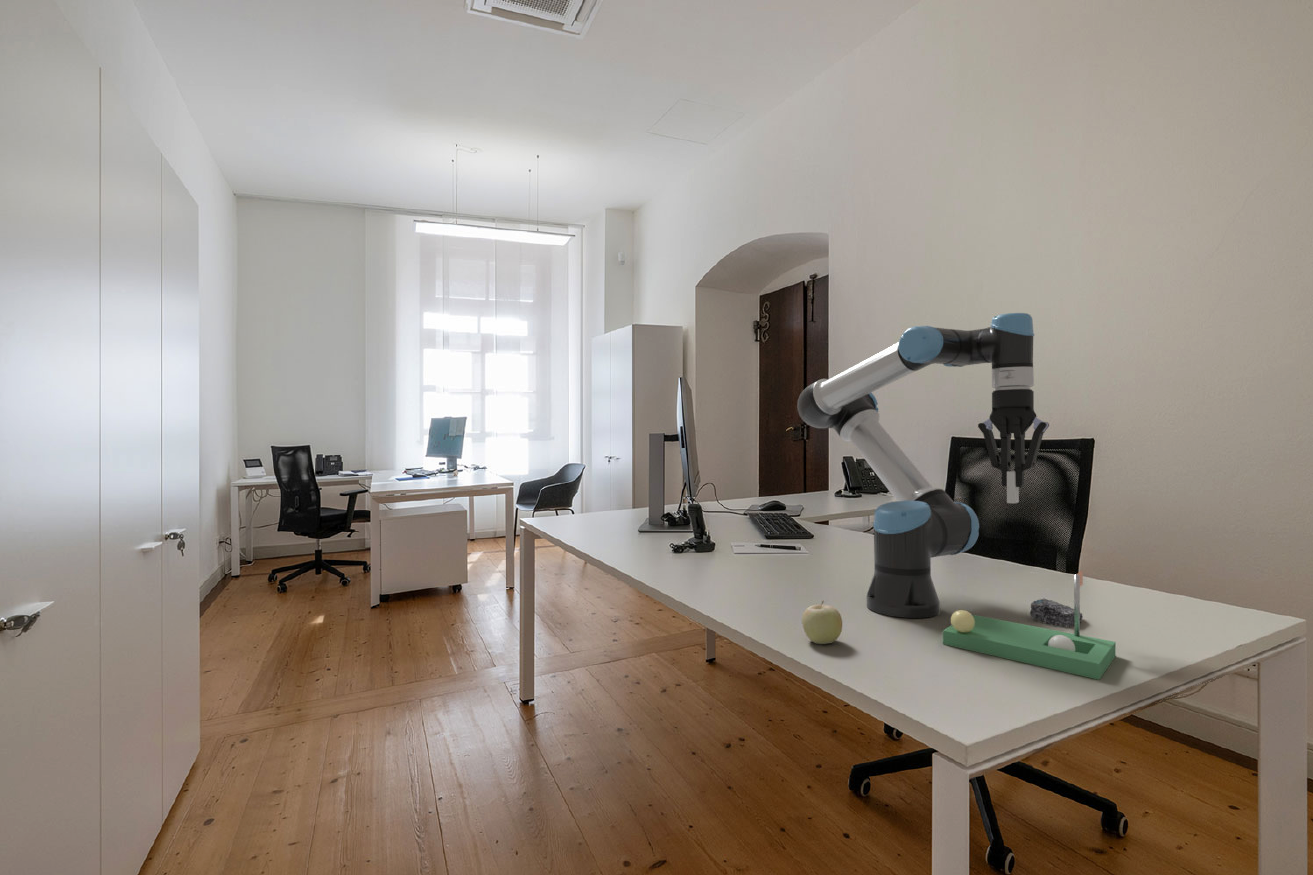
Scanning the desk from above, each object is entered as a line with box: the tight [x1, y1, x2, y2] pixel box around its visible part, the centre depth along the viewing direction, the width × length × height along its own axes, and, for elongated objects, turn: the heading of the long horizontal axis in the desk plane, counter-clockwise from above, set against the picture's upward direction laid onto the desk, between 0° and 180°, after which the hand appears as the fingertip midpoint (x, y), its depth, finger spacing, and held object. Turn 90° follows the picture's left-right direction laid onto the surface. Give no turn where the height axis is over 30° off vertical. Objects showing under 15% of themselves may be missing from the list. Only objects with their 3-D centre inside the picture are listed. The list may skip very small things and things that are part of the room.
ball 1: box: [950, 609, 975, 633], centre depth 114 cm, size 4×4×4 cm
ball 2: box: [1048, 635, 1075, 652], centre depth 108 cm, size 4×4×4 cm
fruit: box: [801, 600, 843, 645], centre depth 118 cm, size 8×7×8 cm
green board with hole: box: [942, 613, 1117, 681], centre depth 112 cm, size 24×14×2 cm, turn 45°
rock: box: [1029, 598, 1083, 628], centre depth 129 cm, size 8×10×4 cm
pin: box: [1073, 570, 1084, 637], centre depth 113 cm, size 1×4×11 cm, turn 135°
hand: (1012, 502), depth 129 cm, fingers closed
